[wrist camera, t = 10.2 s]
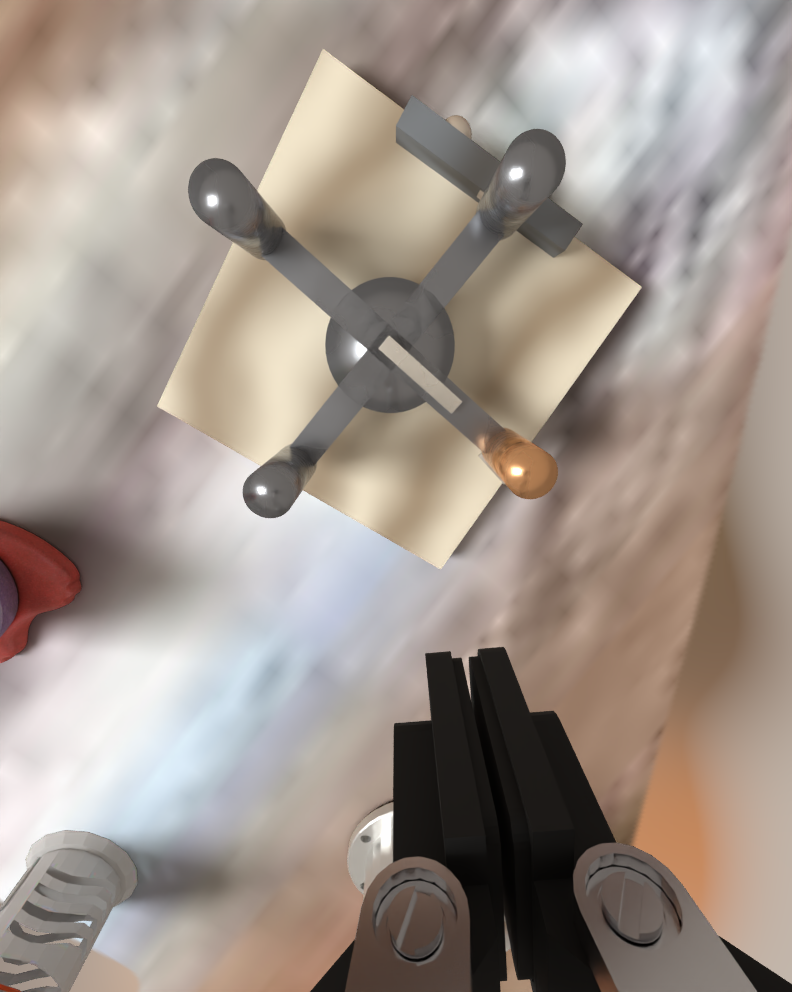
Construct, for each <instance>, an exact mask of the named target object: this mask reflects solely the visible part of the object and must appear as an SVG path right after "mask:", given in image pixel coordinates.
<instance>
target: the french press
mask: <svg viewBox="0 0 792 992" xmlns="http://www.w3.org/2000/svg"><path fill="white" fill-rule="evenodd" d="M25 860H26V866H27V871H26V872H25V874H24V875H23V876H22V878H21V879H20V880H19V882H18V883H17V885H16V886H15V887H14V889H13V890H12V891H11V893H10V894H9V896H8V897H7V898H6V900H5V901H4V903H3V904H2V905H1V907H0V957H2V958H3V960H4V962H8V963H12V964H16V965H23V964H28V963H30V964H33V965H35V966H37V967H38V968H39V969H35V970H32V971H27V972H23V973H19V974H10V973H5V972H0V992H69V991H70V989H71V987H72V985H73V984H74V982H75V980H76V978H77V976H78V974H79V972H80V970H81V968H82V966H83V964H84V962H85V960H86V958H87V956H88V954H89V953H90V951H91V949H92V947H93V945H94V943H95V941H96V939H97V937H98V935H99V933H100V931H101V929H102V927H103V925H104V924H105V922H106V920H107V918H108V916H109V914H110V912H111V910H112V908H113V907H115V906H117V905H118V904H120V903H121V902H123V901H124V900H126V899H127V898H129V897H130V896H131V895H132V893H133V891H134V889H135V887H136V885H137V869H136V867H135V865H134V863H133V862H132V860H131V859H130V857H129V855H128V854H127V853H126V852H125V851H124V850H122V849H121V848H120V847H119V846H117V845H116V844H115V843H113V842H112V841H111V840H108V839H106V838H103V837H100V836H98V835H95V834H92V833H90V832H81V831H68V830H65V831H61V832H56V833H52V834H48V835H45V836H44V837H42V838H41V839H39V840H38V841H37V842H35V843H34V844H33V845H31V848H30V850H29V852H28V855H27V857H26V859H25ZM78 921H93V922H92V924H91V925H90V927H89V926H87V925H86V924H85V923H76V922H78ZM19 923H20V924H21V925H23V926H25V927H27V928H30V929H32V930H34V931H36V932H45V933H51V934H46V935H40V936H35V935H31V934H28V933H24V932H23V931H22V928H21V927H20V925H19ZM9 926H10V930H11V932H12V933H11V932H10V931H8V930H7V929H8V928H9ZM70 938H83V940H82V942H81V944H80V946H74V945H72V944H71V943H61V944H60V943H59V944H43V943H48V942H53V941H57V940H64V939H70ZM48 976H51V977H52V978H53V979H54V981H55V982H56V983H57V984H58V987H50V986H46V987H40V988H34V989H29V990H25V991H20V990H18V989H15V988H12V987H9V985H13V984H18V983H22V982H25V981H29V980H33V979H37V978H42V977H48Z"/></svg>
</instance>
